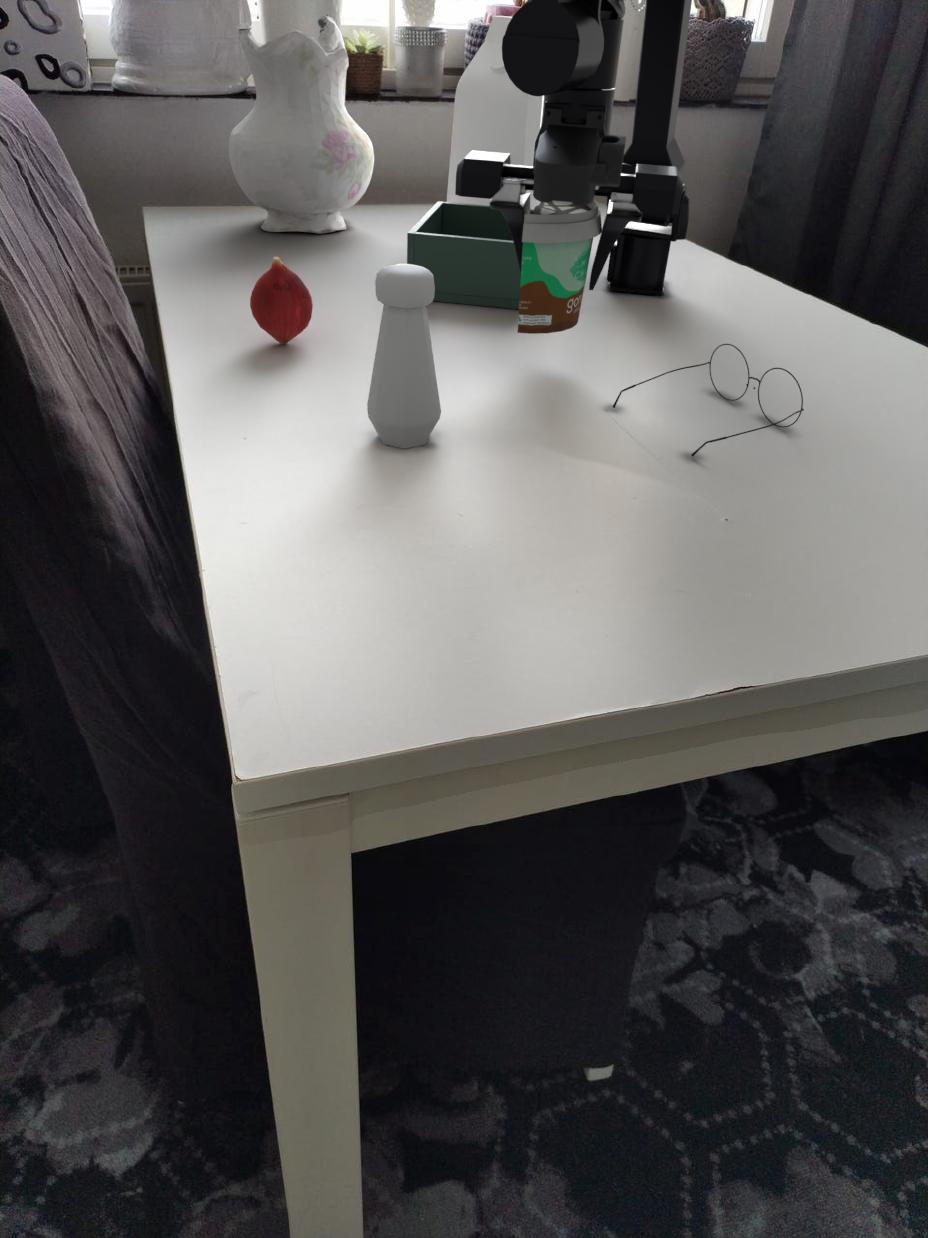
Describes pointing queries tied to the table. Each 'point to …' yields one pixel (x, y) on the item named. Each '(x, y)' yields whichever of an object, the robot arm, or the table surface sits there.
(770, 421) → the eyeglasses
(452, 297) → the green open box
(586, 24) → the robot arm
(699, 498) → the table surface
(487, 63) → the milk
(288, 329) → the onion
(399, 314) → the salt shaker
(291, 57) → the ceramic pitcher
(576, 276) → the food container
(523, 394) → the table surface
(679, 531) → the table surface
